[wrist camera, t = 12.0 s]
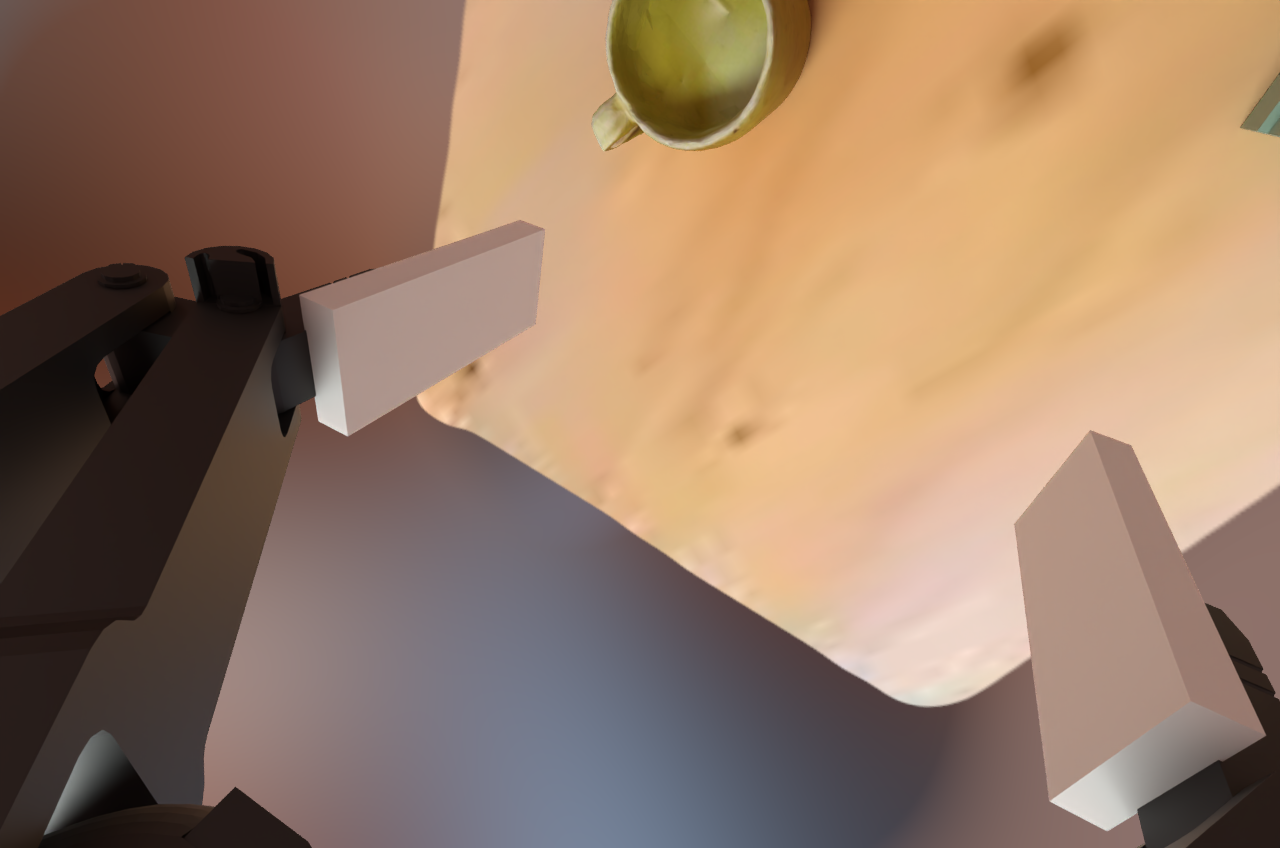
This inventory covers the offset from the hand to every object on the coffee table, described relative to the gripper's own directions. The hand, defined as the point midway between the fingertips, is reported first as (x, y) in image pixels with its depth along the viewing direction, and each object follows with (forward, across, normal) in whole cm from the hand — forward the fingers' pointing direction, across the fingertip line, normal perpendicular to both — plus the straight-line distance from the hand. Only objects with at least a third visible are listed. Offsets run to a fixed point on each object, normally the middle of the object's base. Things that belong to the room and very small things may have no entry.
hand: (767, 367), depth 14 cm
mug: (+27, -12, +4) cm, 30 cm away
